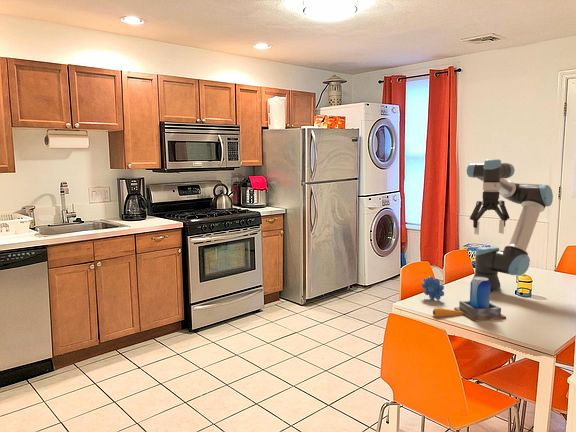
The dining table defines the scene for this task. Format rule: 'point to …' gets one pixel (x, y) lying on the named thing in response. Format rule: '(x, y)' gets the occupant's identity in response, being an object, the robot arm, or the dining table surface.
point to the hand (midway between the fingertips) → (488, 233)
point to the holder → (480, 312)
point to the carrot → (445, 312)
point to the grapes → (433, 288)
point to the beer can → (480, 293)
